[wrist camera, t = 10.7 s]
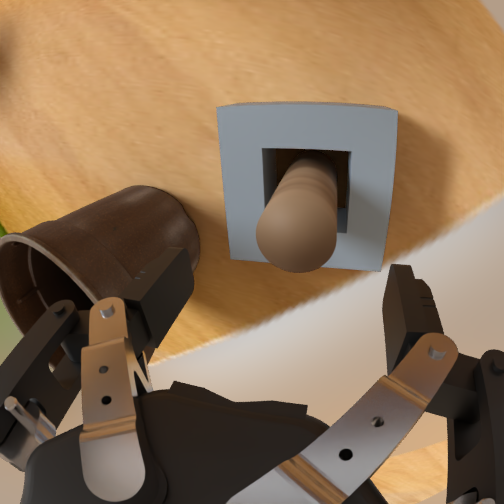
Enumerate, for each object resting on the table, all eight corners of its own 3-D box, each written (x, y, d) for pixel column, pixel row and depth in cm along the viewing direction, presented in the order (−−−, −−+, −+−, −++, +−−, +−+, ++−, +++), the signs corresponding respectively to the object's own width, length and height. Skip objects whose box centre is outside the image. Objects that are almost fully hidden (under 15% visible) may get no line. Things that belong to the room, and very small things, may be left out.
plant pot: (86, 161, 30) (-30, 225, 17) (218, 166, 27) (104, 260, 13) (109, 280, 39) (34, 362, 25) (221, 307, 35) (160, 424, 22)
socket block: (237, 103, 24) (216, 107, 19) (385, 106, 21) (397, 110, 16) (246, 232, 29) (230, 259, 25) (375, 241, 27) (380, 271, 22)
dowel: (289, 149, 25) (253, 197, 15) (337, 151, 24) (339, 202, 14) (290, 194, 26) (257, 269, 16) (336, 196, 26) (333, 275, 16)
